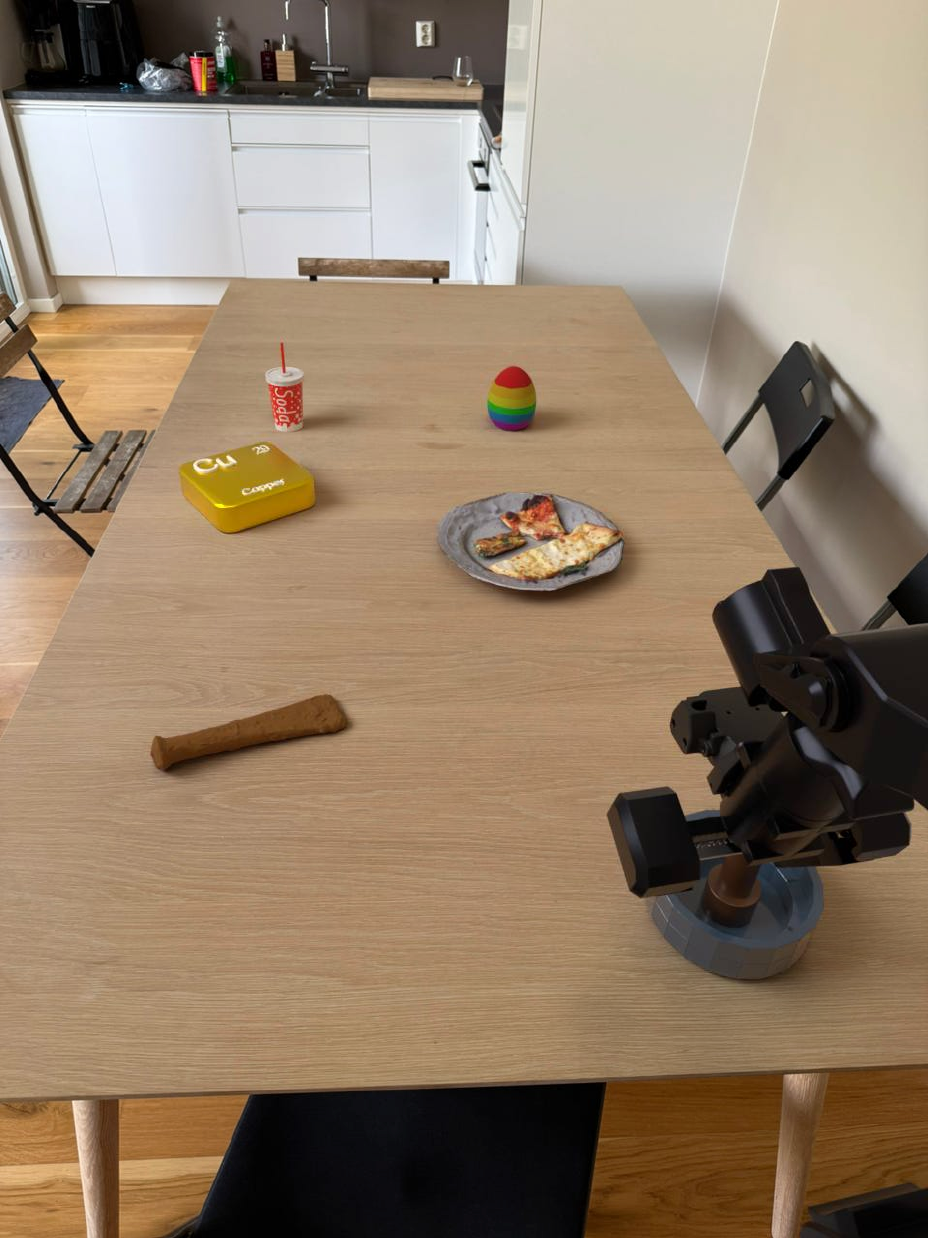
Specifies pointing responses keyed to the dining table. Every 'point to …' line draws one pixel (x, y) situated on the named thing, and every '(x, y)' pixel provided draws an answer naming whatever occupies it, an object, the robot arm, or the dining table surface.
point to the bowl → (764, 939)
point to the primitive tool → (252, 730)
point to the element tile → (247, 486)
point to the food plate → (530, 540)
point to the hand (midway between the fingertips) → (716, 870)
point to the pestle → (731, 892)
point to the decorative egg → (512, 399)
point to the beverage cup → (286, 396)
